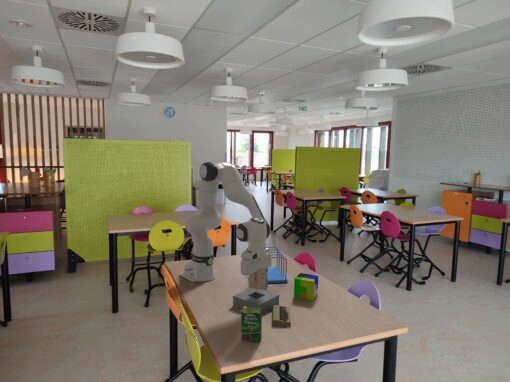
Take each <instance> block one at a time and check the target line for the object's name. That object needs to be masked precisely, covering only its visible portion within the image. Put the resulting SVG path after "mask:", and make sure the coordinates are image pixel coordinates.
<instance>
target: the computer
mask: <svg viewBox="0 0 510 382" xmlns="http://www.w3.org/2000/svg"><path fill="white" fill-rule="evenodd" d="M271 319H272V323H271V324H272V326H273V327H291V325H292V322H291V321H292V320H291V310H290V307H289V306H285V305H280V304H279V305H273V308H272V318H271Z"/></svg>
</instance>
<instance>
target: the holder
mask: <svg viewBox="0 0 510 382" xmlns="http://www.w3.org/2000/svg"><path fill="white" fill-rule="evenodd" d="M273 305H280V294H278V293H275V292H272V291H268V290H267V289H266V290H263V289H259V290H256V289H252V288H250V289H245V290H244V291H241V292H239V293H236V294H234V295H233V296H232V307H235V308H238V309H240V310H241V309H242V307H243V306H245V307H254V308H262V315H263V314H264V313H266V312H268V311H270V310H273Z"/></svg>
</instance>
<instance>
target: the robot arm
mask: <svg viewBox="0 0 510 382" xmlns="http://www.w3.org/2000/svg"><path fill="white" fill-rule="evenodd" d="M199 176H200V180H199V184H198V190H197V197H196V198H197V199H196V201H197V204H198V205H199V206H200V209H201V212H199V213H193V214H191V215H189V216H188V217H186V219H184V228H185V230H186V231H187V232H188V233H189V234H190V235H191V237H192V240H193V253H194V254H193V253H192V254H191V255H190V257H191V259H190V261H188V262H187V263H186V264H185V265H184V268H183V271H181V272H180V273H179V275H180V276H181V277H183V279H186V280H188V281H190V282H191V283H192V282H193V283H194V282H209V281H212V280H215V279H216V271H215V264H214V263H215V262H214V261H215V256H214V255H215V254H214V241H213V239H211V238H210V237H209V235H208V231H212V230H215V229H217V228H218V227H220V226H221V224H222V216H221V214H220V213H219V212H218V207H217V199H218V192H219V184H220V183H221V185H222V186H221V187H222V190H223V192H224V196H225V198H226V199H227V200H228V201H230V202H232V203H234V204H235V203H236V204H237V205H238V204H239V205H241V206H244V207H245V208H246V209H248V211H249V214H250V215H251V218H249V220H248V221H245V222H240V223H238V224H237V226H236V229H235V237H236V238H237V240H239V241H240V243H241V242H243V243H248V245H247V247H246V249H245V250H244V251H243V252H241V254H240V258H241V261H240V274H241V275H243V276H247V277H249V275H250V277H251V281H252V282H254V281H255V279H256V278H255V277H254V273H255V272H257V270H258V269H260V268H263V273H264V269H266V268H268V267H272V264H273V263H272V262H273V261H272V259H273V258H271V257H272V255H271V254H272V253H270V252H271V250H269V249H270V248H266V247H267V242H266V240H267V239H268V238H269V236H270V234H271V232H272V231H271V226H270V224H269V223H268V221H267V220H266V218H265V216H264V215H263V212H262V210H261V208H260V206H259V204H258V202H257V200H256V198H255V197H254V195H253V194H252V193H251V192H250V191H249V190H248V189H247V187H246V186H245V182H244V180H243V177H242V176H241V173H240V171H239V170H238V166H237V165H236V164H235V163H232V162H226V161H206V162H203V163H202V164H201V165H200V168H199Z"/></svg>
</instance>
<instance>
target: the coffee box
mask: <svg viewBox="0 0 510 382" xmlns="http://www.w3.org/2000/svg"><path fill="white" fill-rule="evenodd" d="M240 311H241V312H240V313H241V314H240V315H241V316H240V318H241V319H240V320H241V322H240V323H241V325H240V326H241V340H242V341H247V342H255V343H261V342H262V339H263V338H262V336H263V334H262V333H263V332H262V327H263V326H262V325H263V324H262V322H263V321H262V320H263V319H262V318H263V317H262V315H263V314H262V308H254V307H245V306H243V307H242V309H240Z"/></svg>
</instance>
